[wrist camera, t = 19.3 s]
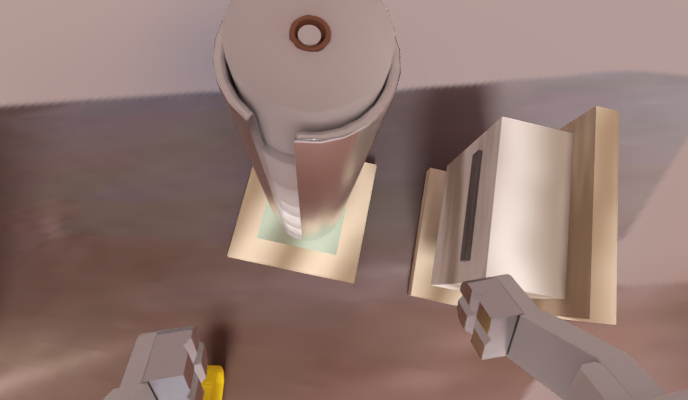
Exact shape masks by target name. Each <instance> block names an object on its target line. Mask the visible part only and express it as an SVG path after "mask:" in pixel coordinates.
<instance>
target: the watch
mask: <svg viewBox="0 0 688 400" xmlns="http://www.w3.org/2000/svg"><path fill="white" fill-rule="evenodd" d="M201 385H202V388H203V390H204V396H203V400H222V396H223V388H224V370H223V368H222V367H221V366H217V365H207V375H206V378H205V379H204V380H203V382H202V383H201Z"/></svg>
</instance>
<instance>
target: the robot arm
mask: <svg viewBox="0 0 688 400" xmlns="http://www.w3.org/2000/svg"><path fill="white" fill-rule="evenodd" d="M460 292H461V293H462V295H463V296H462V297H461V298H460V299H459V300H458V305H457V311H458V317H459V320H460V322H461V324H462V326H463V328H464V330H465V331H467V332H469V333H470V334H472V339H471V343H472V344H473V346H474V348H475V350H476V351H477V353H478V355H479V357H480V358H481V360H484V359H490V358H496V357H502V356H507V357H508V358H509V359H511V360H512V361H513V362H515V363H516V364H517V365H518V366H520V367H521V368H522V369H524V370H525V371H526V372H528V373H529V374H530V375H532V376H533V377H534V378H535V379H537V380H538V381H539V382H541V383H542V384H543V385H545V386H546V387H547V388H549V389H550V390H551V391H553V392H554V393H555V394H556V395H558V396H559V397H561V398H562V399H563V400H688V389H686V390H682V391H677V392H673V393H668V394H667V393H666V392H665V391H664V390H663V389H662V388H661V387H660V386H659V385H658V384H657V383H656V382H655V381H654V380H653V379H652V378H651V376H650V375H649V374H648V373H647V372H646V371H645V370H644V369H643V368H642V367H641V366H640V365H639V364H638V363H637V362H636V361H635V360H634V359H633V358H632V357H631V356H630V355H629V354H628V353H626V352H625V351H623V350H621V349H619V348H617V347H615V346H613V345H611V344H609V343H607V342H605V341H603V340H601V339H599V338H597V337H595V336H593V335H591V334H589V333H588V332H586V331H584V330H582V329H580V328H578V327H576V326H574V325H572V324H570V323H568V322H566V321H564V320H562V319H560V318H558V317H556V316H554V315H553V314H551V313H549V312H547V311H540V310H539V309H538V307H537V306H536V305H535V304H534V303H533V301H532V300H531V299H530V298H529V297H528V295H527V294H526V293H525V292H524V291H523V289H522V288H521V287H520V286H519V284H518V283H517V282H516V281H515V280H514V278H513V277H512V276H511V275H509V274H504V275H498V276H493V277H486V278H480V279H474V280H469V281H463V283H462V284H461V287H460ZM199 339H200V332H199V329H198V327H197V326H191V327H184V328H176V329H169V330H162V331H157V332H150V333H143V334H140V336H139V337H138V338H137V339H136V342H135V345H134V348H133V351H132V354H131V356H130V359H129V362H128V365H127V368H126V370H125V373H124V376H123V379H122V382H121V385H120V387H119V388H115V389H113V390H112V391H111V392H110V393H109V394H108V395H107V396H106V397H105V398H104V399H103V400H203V396H204V390H203V388H202V385H201V383H202V382H203V380H204V379H205V378H206V375H207V352H206V348H205V345H204V344H203V343H202V342H200V341H199Z"/></svg>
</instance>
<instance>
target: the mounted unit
mask: <svg viewBox="0 0 688 400" xmlns="http://www.w3.org/2000/svg"><path fill="white" fill-rule="evenodd" d="M618 131H619V111H615V110H611V109H607V108H603V107H599V106H595V107H594V108H592V109H591V110H589V111H588V112H586V113H584V114H583V115H581V116H580V117H578V118H577V119H575V120H573V121H572V122H570V123H569V124H567V125H566V126H564V127H563V128H561V129H559V130H557V129H553V128H548V127H544V126H540V125H536V124H532V123H527V122H523V121H519V120H515V119H511V118H506V117H501V118H500V119H499V120H498V121H497V122H496V123H494V124H493V125H492V126H491V127H490V128H489V129H488V130H487V131H485V132H484V133H483V134H482V135H481V136H480V137H479V138H478V139H477V140H475V141H474V142H473V143H472V144H471V145H470V146H469V147H468V148H466V149H465V150H464V151H463V152H462V153H461V154H460V155H459V156H457V157H456V158H455V159H454V160H453V161H452V162H451V163H450V164H449V165H447V171H442V170H438V169H434V168H430V169H429V170H428V171H427V172H426V179H425V185H424V192H423V198H422V205H421V211H420V218H419V224H418V231H417V237H416V244H415V250H414V257H413V263H412V270H411V276H410V283H409V289H408V295H409V296H414V297H419V298H423V299H428V300H433V301H437V302H442V303H447V304H451V305H456V306H457V305H458V300H459V299H460V298H461V297H462V296H463V295H462V293H461V292H460V287H461V284H462V283H463V281H469V280H474V279H480V278H486V277H493V276H498V275H504V274H509V275H511V276H512V277H513V278H514V280H515V281H516V282H517V283H518V284H519V286H520V287H521V288H522V289H523V291H524V292H525V293H526V294H527V295H528V297H529V298H530V299H531V300H532V301H533V303H534V304H535V305H536V306H537V307H538V309H539V310H540V311H547V312H549V313H551V314H553V315H554V316H556V317H558V318H560V319H566V320H576V321H585V322H594V323H603V324H613V325H616V284H617V208H618Z"/></svg>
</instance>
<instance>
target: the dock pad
mask: <svg viewBox="0 0 688 400" xmlns="http://www.w3.org/2000/svg"><path fill="white" fill-rule="evenodd" d="M376 166H377V165H375V164H371V163H366V162H365V163H364V165H363V167H362V170H361V172H360V174H359V176H358V179H357V181H356V183H355V185H354V188H353V190H352V192H351V194H350V197H349V199H348V201H347V203H346V205H345V208H344V210H343V212H342V214H341V217H340V219H339V221H338V223H337V224H336V226H335V228H334V229H333V230H332V231H331V232H330V233H329V234H327V235H325V236H324V237H322V238H320V239H316V240H312V241H307V240H299V239H296V238H293V237H291V236H290V235H288V234H286V233H285V232H284V231H283V230H282V229H281V228H280V226H279V224H278V223H277V221H276V219H275V216H274V214H273V212H272V209H271V207H270V205H269V202H268V200H267V198H266V196H265V193H264V191H263V189H262V186H261V184H260V182H259V179H258V177H257V175H256V172H255V170H254V168H253V167H252V170H251V174H250V177H249V181H248V185H247V188H246V192H245V195H244V199H243V202H242V206H241V209H240V213H239V216H238V220H237V223H236V227H235V230H234V234H233V238H232V241H231V245H230V248H229V252H228V255H227V256H228V257H230V258H235V259H240V260H244V261H249V262H254V263H259V264H263V265H268V266H273V267H277V268H282V269H287V270H291V271H296V272H301V273H306V274H310V275H315V276H320V277H324V278H329V279H334V280H339V281H343V282H348V283H354V281H355V276H356V271H357V265H358V260H359V255H360V250H361V245H362V239H363V234H364V229H365V224H366V218H367V213H368V208H369V203H370V198H371V192H372V187H373V182H374V177H375V171H376Z"/></svg>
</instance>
